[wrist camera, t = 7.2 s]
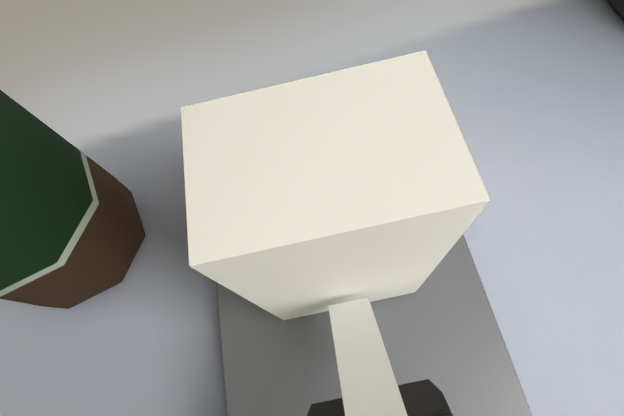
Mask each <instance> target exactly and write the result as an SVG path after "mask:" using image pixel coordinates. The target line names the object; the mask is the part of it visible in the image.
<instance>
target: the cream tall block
mask: <svg viewBox="0 0 624 416" xmlns="http://www.w3.org/2000/svg"><path fill="white" fill-rule="evenodd" d="M181 121H182V140H183V159H184V178H185V197H186V216H187V235H188V254H189V267H191V268H193V269H195V270H196V271H198V272H200V273H202V274H203V275H205V276H207V277H209V278H210V279H212V280H214V281H216V282H217V283H219V284H221V285H223V286H224V287H226V288H228V289H229V290H231V291H233V292H235V293H236V294H238V295H240V296H242V297H243V298H245V299H247V300H249V301H250V302H252V303H254V304H256V305H257V306H259V307H261V308H263V309H264V310H266V311H268V312H270V313H271V314H273V315H275V316H277V317H278V318H280V319H282V320H288V319H293V318H297V317H302V316H307V315H311V314H316V313H321V312H325V311H329V307H328V306H331V305H335V304H340V303H345V302H350V301H354V300H359V299H364V298H369V301H370V302H372V301H377V300H382V299H386V298H391V297H396V296H401V295H405V294H410V293H415V292H416V291H417V290H418V289H419V287H420V286H421V285H422V284H423V282H424V281H425V280H426V279H427V278H428V276H429V275H430V274H431V273H432V271H433V270H434V269H435V268H436V266H437V265H438V264H439V263H440V262H441V260H442V259H443V258H444V257H445V255H446V254H447V253H448V252H449V251H450V249H451V248H452V247H453V246H454V244H455V243H456V242H457V241H458V239H459V238H460V237H461V236H462V235H463V233H464V232H465V231H466V230H467V228H468V227H469V226H470V225H471V224H472V222H473V221H474V220H475V219H476V217H477V216H478V215H479V214H480V212H481V211H482V210H483V209H484V208H485V206H486V205H487V204H488V203H489V201H490V198H489V196H488V194H487V191H486V189H485V187H484V184H483V182H482V180H481V177H480V175H479V173H478V170H477V168H476V166H475V164H474V161H473V159H472V157H471V154H470V152H469V150H468V147H467V145H466V143H465V140H464V138H463V136H462V133H461V131H460V129H459V126H458V124H457V122H456V119H455V117H454V115H453V113H452V110H451V108H450V106H449V103H448V101H447V99H446V96H445V94H444V92H443V89H442V87H441V85H440V82H439V80H438V78H437V75H436V73H435V71H434V69H433V66H432V64H431V62H430V59H429V57H428V55H427V52H426V50H424V51H420V52H416V53H411V54H407V55H403V56H399V57H394V58H390V59H386V60H381V61H377V62H373V63H369V64H364V65H360V66H356V67H351V68H347V69H343V70H339V71H334V72H330V73H326V74H321V75H317V76H313V77H308V78H304V79H300V80H296V81H291V82H287V83H283V84H278V85H274V86H270V87H266V88H261V89H257V90H253V91H248V92H244V93H240V94H236V95H231V96H227V97H223V98H218V99H214V100H210V101H205V102H201V103H197V104H193V105H188V106H184V107H181Z"/></svg>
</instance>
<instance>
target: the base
mask: <svg viewBox="0 0 624 416" xmlns="http://www.w3.org/2000/svg"><path fill="white" fill-rule="evenodd" d="M216 283H217V282H216ZM217 295H218V307H219V319H220V331H221V344H222V356H223V368H224V380H225V392H226V404H227V416H307V414H308V411H309V409H310V406H311V404H314V403H319V402H324V401H329V400H334V399H339V398H342V392H341V385H340V379H339V372H338V365H337V359H336V352H335V346H334V339H333V333H332V326H331V320H330V313H329V311H325V312H321V313H316V314H311V315H307V316H302V317H297V318H293V319H288V320H282V319H280V318H278V317H277V316H275V315H273V314H271V313H270V312H268V311H266V310H264V309H263V308H261V307H259V306H257V305H256V304H254V303H252V302H250V301H249V300H247V299H245V298H243V297H242V296H240V295H238V294H236V293H235V292H233V291H231V290H229V289H228V288H226V287H224V286H223V285H221V284H219V283H217ZM370 304H371V307H372V310H373V313H374V316H375V319H376V322H377V325H378V328H379V331H380V334H381V337H382V340H383V343H384V346H385V349H386V352H387V355H388V358H389V361H390V364H391V367H392V370H393V373H394V376H395V379H396V382H397V385H402V384H406V383H411V382H416V381H421V380H426V379H429V380H430V381H431V382H432V383H433V384H434V385H435V386H436V387H437V388H438V389H439V390H440V391H442V393H443V395H444V397H445V399H446V401H447V403H448V406H449V408H450V410H451V413H452V414H453V416H532V413H531V411H530V408H529V405H528V403H527V400H526V398H525V395H524V392H523V390H522V387H521V384H520V382H519V379H518V377H517V374H516V371H515V369H514V366H513V363H512V361H511V358H510V356H509V353H508V350H507V348H506V345H505V342H504V340H503V337H502V335H501V332H500V329H499V327H498V324H497V322H496V319H495V316H494V314H493V311H492V308H491V306H490V303H489V301H488V298H487V295H486V293H485V290H484V287H483V285H482V282H481V280H480V277H479V274H478V272H477V269H476V266H475V264H474V261H473V259H472V256H471V253H470V251H469V248H468V246H467V243H466V240H465V238H464V235H462V236H461V237H460V238H459V239H458V241H457V242H456V243H455V244H454V246H453V247H452V248H451V249H450V251H449V252H448V253H447V254H446V255H445V257H444V258H443V259H442V260H441V262H440V263H439V264H438V265H437V266H436V268H435V269H434V270H433V271H432V273H431V274H430V275H429V276H428V278H427V279H426V280H425V281H424V282H423V284H422V285H421V286H420V287H419V289H418V290H417V291H416V292H415V293H410V294H405V295H401V296H396V297H391V298H386V299H382V300H377V301H372V302H370Z"/></svg>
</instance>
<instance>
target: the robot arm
mask: <svg viewBox="0 0 624 416" xmlns="http://www.w3.org/2000/svg"><path fill="white" fill-rule="evenodd" d="M609 1H610V3H611V4H612V6H613V7H614V8H615V9H616V11H617V12H618V13H619V14H620V15H621V16H622V17H623V18H624V0H609ZM328 307H329V313H330V320H331V326H332V333H333V339H334V346H335V352H336V359H337V365H338V372H339V379H340V385H341V392H342V398H339V399H334V400H329V401H324V402H319V403H314V404H311V406H310V409H309V411H308V414H307V416H453V414H452V413H451V410H450V408H449V406H448V403H447V401H446V399H445V397H444V395H443V393H442V391H440V390H439V389H438V388H437V387H436V386H435V385H434V384H433V383H432V382H431V381H430V380H429V379H426V380H421V381H416V382H411V383H406V384H402V385H397V382H396V379H395V376H394V373H393V370H392V367H391V364H390V361H389V358H388V355H387V352H386V349H385V346H384V343H383V340H382V337H381V334H380V331H379V328H378V325H377V322H376V319H375V316H374V313H373V310H372V307H371V304H370V301H369V298H364V299H359V300H354V301H350V302H345V303H340V304H335V305H331V306H328Z"/></svg>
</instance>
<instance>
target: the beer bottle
mask: <svg viewBox="0 0 624 416" xmlns="http://www.w3.org/2000/svg"><path fill="white" fill-rule="evenodd" d="M144 237H145V233H144V230H143V227H142V224H141V221H140V218H139V214H138V211H137V208H136V205H135V202H134V199H133V196H132V193H131V192H130V191H129V190H128V189H127V188H126V187H125V186H124V185H123V184H121V183H120V182H119V181H118V180H117V179H116V178H115V177H114V176H112V175H111V174H110V173H108V172H107V171H106V170H104V169H103V168H102V167H100V166H99V165H98V164H97V163H95V162H94V161H93V160H91V159H90V158H89V157H87V156H86V155H85V154H83V153H82V152H81V151H79V150H78V149H77V148H76V147H74V146H73V145H72V144H70V143H69V142H68V141H66V140H65V139H64V138H62V137H61V136H60V135H59V134H57V133H56V132H55V131H53V130H52V129H51V128H49V127H48V126H47V125H45V124H44V123H43V122H42V121H40V120H39V119H38V118H36V117H35V116H34V115H32V114H31V113H30V112H28V111H27V110H26V109H25V108H23V107H22V106H21V105H19V104H18V103H17V102H15V101H14V100H13V99H11V98H10V97H9V96H7V95H6V94H5V93H3V92H2V91H1V90H0V299H6V300H11V301H17V302H22V303H28V304H33V305H39V306H47V307H57V308H67V309H69V308H71V307H73V306H75V305H77V304H79V303H81V302H83V301H85V300H87V299H89V298H91V297H93V296H95V295H97V294H99V293H101V292H103V291H105V290H107V289H109V288H110V287H112V286H114V285H116V284H118V283H120V282H122V280H123V278H124V276H125V274H126V272H127V270H128V268H129V266H130V264H131V262H132V260H133V258H134V256H135V254H136V252H137V250H138V248H139V247H140V245H141V243H142V241H143V239H144Z"/></svg>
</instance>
